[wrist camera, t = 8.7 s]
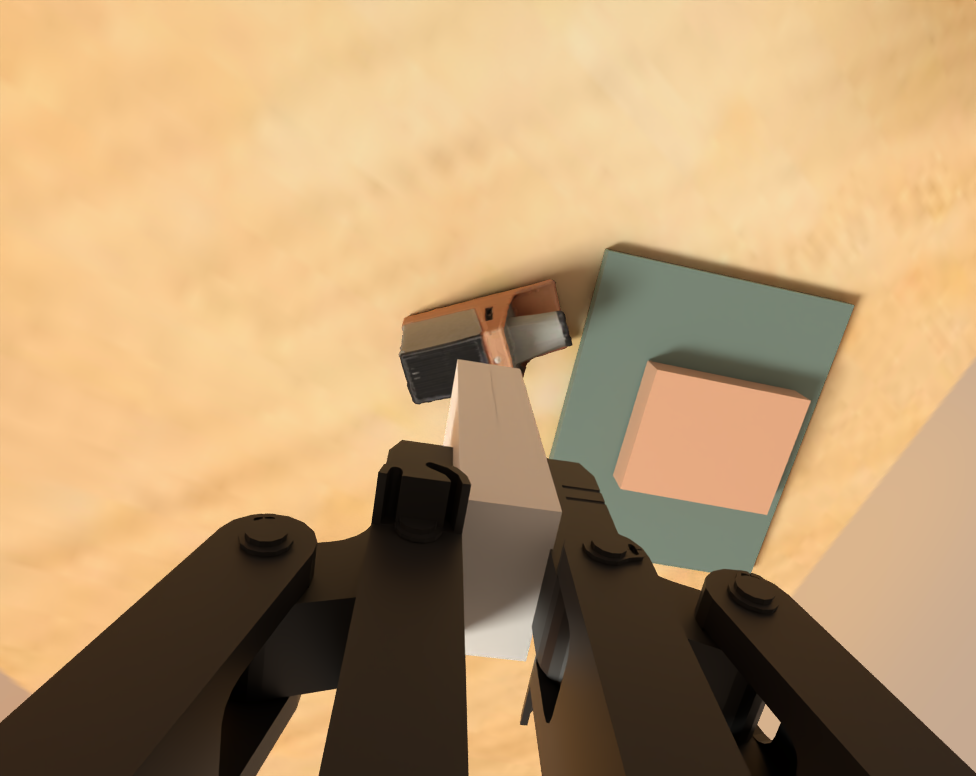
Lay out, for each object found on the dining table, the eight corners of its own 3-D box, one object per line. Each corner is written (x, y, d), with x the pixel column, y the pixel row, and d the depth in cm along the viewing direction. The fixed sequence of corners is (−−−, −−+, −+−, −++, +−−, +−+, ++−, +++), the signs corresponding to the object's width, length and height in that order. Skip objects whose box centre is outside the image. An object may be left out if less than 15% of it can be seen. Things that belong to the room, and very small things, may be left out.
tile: (657, 369, 40) (811, 400, 41) (646, 359, 42) (793, 389, 43) (620, 488, 42) (767, 514, 44) (612, 474, 45) (752, 499, 46)
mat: (605, 248, 41) (609, 250, 40) (845, 302, 43) (854, 305, 42) (528, 535, 47) (530, 542, 46) (742, 570, 49) (748, 578, 48)
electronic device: (568, 342, 43) (591, 377, 35) (421, 383, 43) (415, 425, 36) (551, 275, 41) (572, 297, 34) (400, 317, 42) (389, 348, 34)
